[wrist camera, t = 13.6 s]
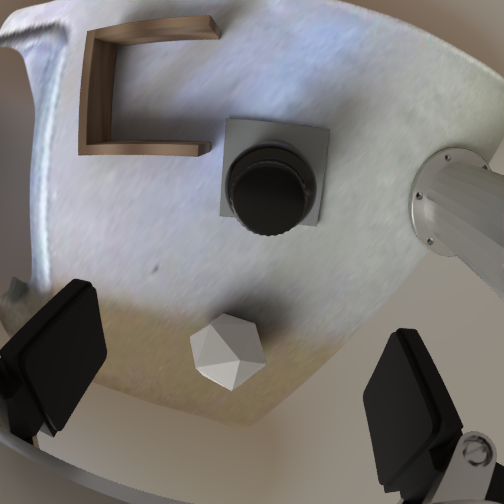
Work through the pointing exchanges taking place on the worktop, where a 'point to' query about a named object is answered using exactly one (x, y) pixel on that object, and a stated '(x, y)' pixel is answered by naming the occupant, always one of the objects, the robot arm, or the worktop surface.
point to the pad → (252, 131)
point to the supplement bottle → (270, 187)
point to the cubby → (102, 79)
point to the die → (228, 351)
